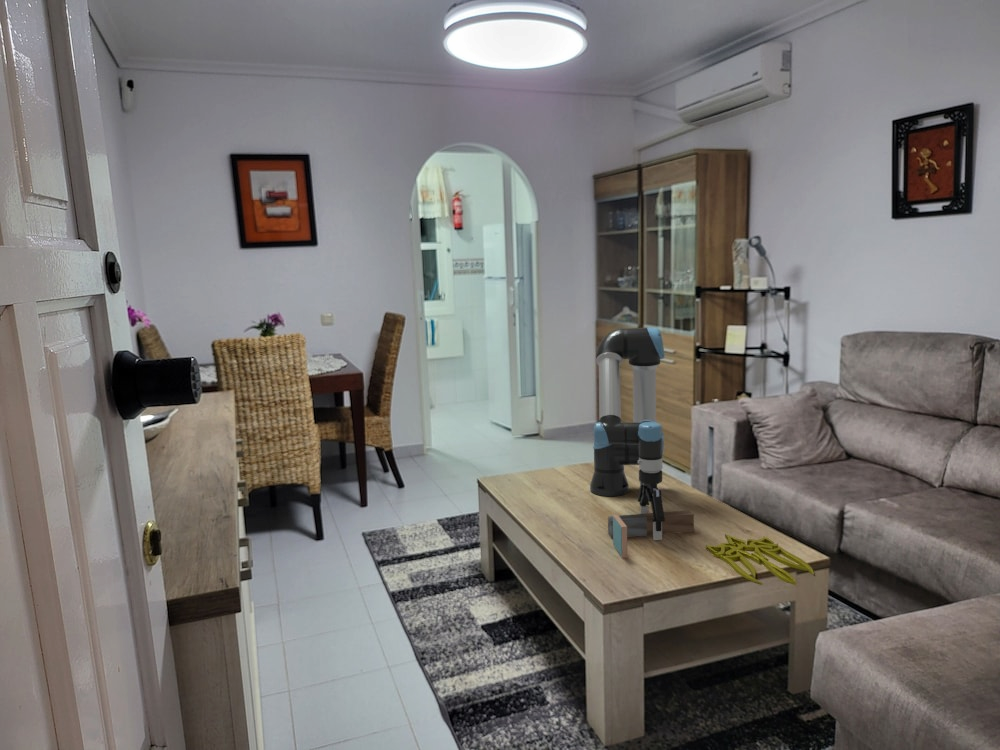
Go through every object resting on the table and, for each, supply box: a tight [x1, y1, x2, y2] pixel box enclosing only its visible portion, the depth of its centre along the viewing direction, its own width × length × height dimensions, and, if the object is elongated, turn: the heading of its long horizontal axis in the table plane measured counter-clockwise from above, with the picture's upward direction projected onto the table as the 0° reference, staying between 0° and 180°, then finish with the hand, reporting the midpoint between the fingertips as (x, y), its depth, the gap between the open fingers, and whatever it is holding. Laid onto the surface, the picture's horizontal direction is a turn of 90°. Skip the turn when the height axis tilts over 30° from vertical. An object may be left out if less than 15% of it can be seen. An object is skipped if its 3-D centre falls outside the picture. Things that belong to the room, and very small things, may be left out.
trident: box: [705, 533, 815, 586], centre depth 201 cm, size 22×2×35 cm
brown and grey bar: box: [607, 509, 695, 539], centre depth 224 cm, size 4×28×6 cm, turn 96°
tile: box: [612, 514, 628, 559], centre depth 210 cm, size 10×2×10 cm, turn 6°
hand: (650, 532), depth 224 cm, fingers open, 12 cm apart
